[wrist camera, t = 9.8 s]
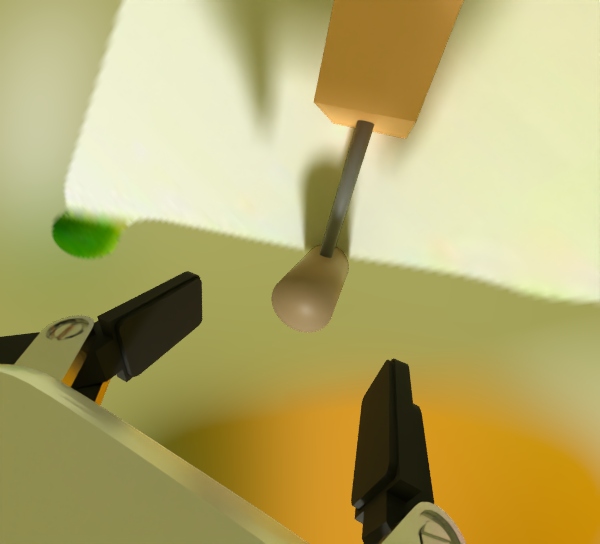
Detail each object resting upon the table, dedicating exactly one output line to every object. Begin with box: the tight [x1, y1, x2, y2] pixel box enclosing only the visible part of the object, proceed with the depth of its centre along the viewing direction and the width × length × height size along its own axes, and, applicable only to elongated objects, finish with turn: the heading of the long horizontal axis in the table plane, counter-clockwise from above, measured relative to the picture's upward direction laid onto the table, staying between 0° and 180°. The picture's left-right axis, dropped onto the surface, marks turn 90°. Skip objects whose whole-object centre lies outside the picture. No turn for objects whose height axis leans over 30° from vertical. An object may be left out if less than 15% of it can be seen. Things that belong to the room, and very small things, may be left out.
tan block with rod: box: [272, 0, 464, 332], centre depth 13 cm, size 18×5×7 cm, turn 167°
